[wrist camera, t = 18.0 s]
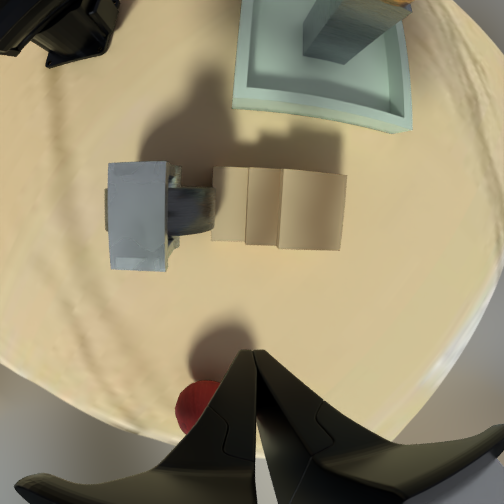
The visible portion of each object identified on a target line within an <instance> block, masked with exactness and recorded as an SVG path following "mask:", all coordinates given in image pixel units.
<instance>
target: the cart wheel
mask: <svg viewBox="0 0 504 504" xmlns="http://www.w3.org/2000/svg"><path fill="white" fill-rule="evenodd" d="M215 199H216V188H213V187H197V186H181V166H175V165H171V164H169V162H168V161H146V162H121V163H109V164H108V188H107V189H105V230H106V231H108V234H109V251H110V264H111V269H118V270H138V271H160V272H166V270H167V268H168V258H169V256H170V255H171V253H172V252H173V250H174V249H176V248H178V247H179V246H180V236H182V235H191V234H197V233H202V232H206V231H209V230H212V229H213V228H214V225H215Z"/></svg>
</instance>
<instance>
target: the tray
mask: <svg viewBox="0 0 504 504" xmlns="http://www.w3.org/2000/svg"><path fill="white" fill-rule="evenodd" d="M315 2H316V0H242V4H241V13H240V22H239V32H238V42H237V52H236V63H235V75H234V87H233V99H232V109H244V110H257V111H268V112H278V113H287V114H294V115H302V116H309V117H315V118H321V119H327V120H333V121H338V122H343V123H348V124H353V125H357V126H362V127H366V128H371V129H375V130H379V131H383V132H386V133H390V134H395V133H400V132H405V131H411V130H412V99H411V84H410V73H409V64H408V55H407V48H406V41H405V35H404V30H403V24H402V20H401V21H399V22H398V23H397V24H395V25H394V26H393V27H391V28H390V29H389V30H387V31H386V32H385V33H383V34H382V35H381V36H379V37H378V38H377V39H376V40H374V41H373V42H372V43H370V44H369V45H368V46H367V47H365V48H364V49H363V50H362V51H360V52H359V53H358V54H357V55H356V56H354V57H353V58H352V59H351V60H349V61H348V62H347V63H346V64H345V65H342V64H338V63H334V62H330V61H326V60H321V59H316V58H311V57H306V56H303V22H304V20H305V19H306V17H307V15H308V13H309V12H310V10H311V8H312V7H313V5H314V3H315Z"/></svg>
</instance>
